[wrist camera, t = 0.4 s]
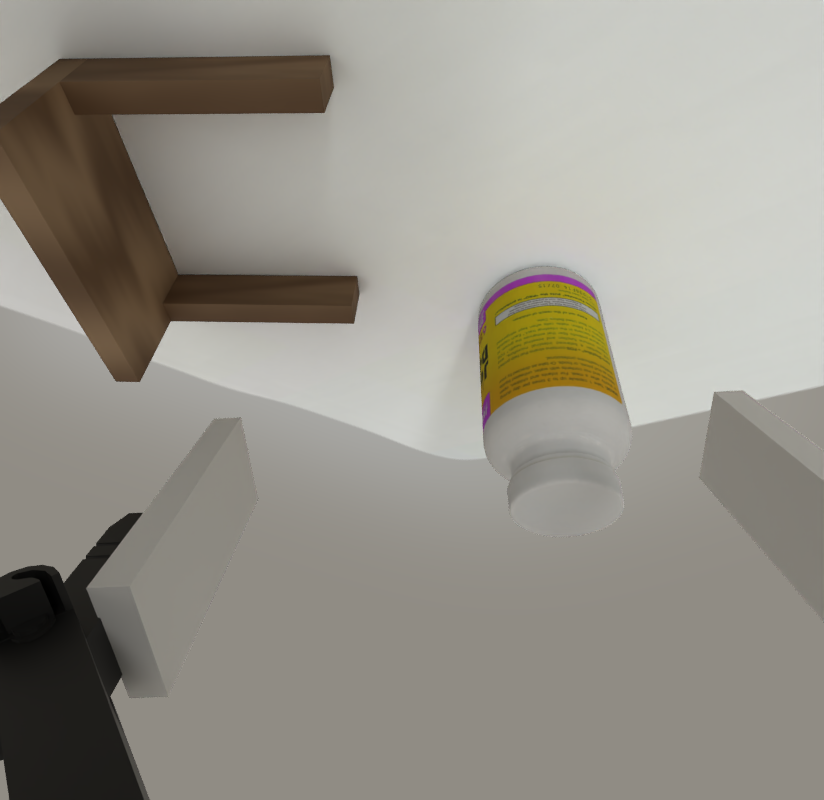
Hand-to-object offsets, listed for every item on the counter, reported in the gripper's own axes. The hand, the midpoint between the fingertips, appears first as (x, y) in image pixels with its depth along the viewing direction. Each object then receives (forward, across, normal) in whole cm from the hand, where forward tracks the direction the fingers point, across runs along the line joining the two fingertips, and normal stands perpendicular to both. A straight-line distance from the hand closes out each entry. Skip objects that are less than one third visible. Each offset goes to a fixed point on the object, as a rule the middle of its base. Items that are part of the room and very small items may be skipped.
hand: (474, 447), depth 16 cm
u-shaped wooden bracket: (+15, -10, +6) cm, 19 cm away
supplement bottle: (+17, +5, -1) cm, 18 cm away
